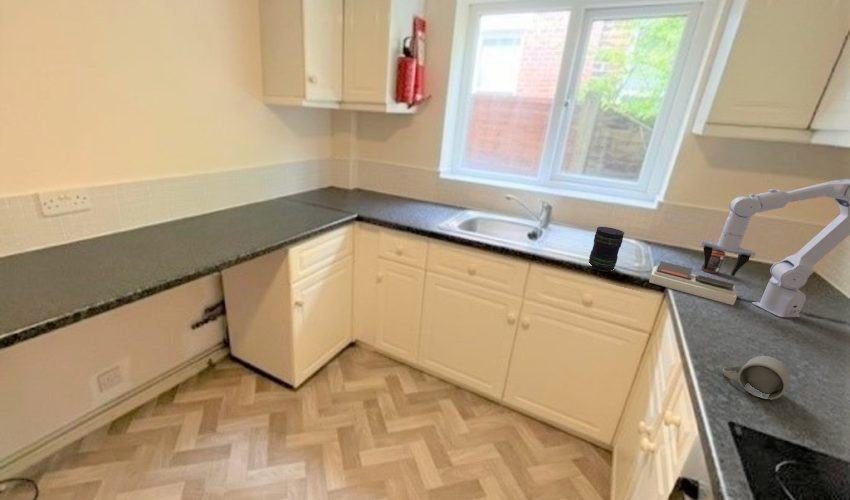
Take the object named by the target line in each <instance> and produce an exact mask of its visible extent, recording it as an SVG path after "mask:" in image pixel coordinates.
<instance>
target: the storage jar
mask: <svg viewBox="0 0 850 500" xmlns="http://www.w3.org/2000/svg"><path fill="white" fill-rule="evenodd" d="M624 236H625V232H624V231H622V230H620V229H617V228H614V227H608V226H597V227H596V231H595V234H594V238H593V245H592V250H591V251H590V255H589V259H588V262H589V263H590V264H591V265H592V267H594V268H593V269H595V270H597V269H598V270H597V271H601V272H608V271H610V272H612V271H611V270H613V269H614V268H615V267H616V265H617V263H618V262H617V261H618V260H619V259H618V258H619V256H618V255H619V251H620V248H621V247H622V244H623V240H624ZM592 267H591V268H592ZM614 270H615V269H614Z"/></svg>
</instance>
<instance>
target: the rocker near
mask: <svg viewBox="0 0 850 500" xmlns="http://www.w3.org/2000/svg"><path fill="white" fill-rule="evenodd" d="M696 275H697V276H696V278H697V279H701V280H705V281H709V282H713V283H717V284H721V285H725V286H729V287H733V286H734V287H735V284H734V283H732V282H728V281H724V280H721V279H720V280H719V279H716V278H712V277H708V276H703V275H699V274H696Z"/></svg>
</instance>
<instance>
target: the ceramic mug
mask: <svg viewBox="0 0 850 500" xmlns="http://www.w3.org/2000/svg"><path fill="white" fill-rule="evenodd" d="M731 370H732V371H736V372H728V371H731ZM721 371H722V374H723V373H724V374H725V375H726V376H727V377H728V378H730V379H729V380H731V381H732V380H733V381H738V383H739V385H740V387H741V386H742V387H745V385H746V384H747V383H749V384H750V385H751V386H752V387H754V388H755V389H757V390H759V391H760V392H762V393H765V394H770V395H769V397H768V399H770V400H769V401H771V400H776V399H779V398H780V397H782V396H783V394H784V393H785V392H786V389H787V386H788V384H789V381H790V373H789V371H788V369H787V367H786V365H785V364H784V363H783V362H781V361H780V360H779V359H778V358H777V359H776V358H774V357H772V356H768V355H758V356H754V357H753V358H750V359H749V360H747V362H746V363H745V364H744V365H743V366H742V365H728V366H724V367H723V368H722V370H721ZM728 378H727V379H728ZM742 387H741V388H742Z"/></svg>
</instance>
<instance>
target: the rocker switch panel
mask: <svg viewBox="0 0 850 500" xmlns="http://www.w3.org/2000/svg"><path fill="white" fill-rule="evenodd" d="M658 268H659V265H658V264H657V265H655V266H654V267H653V269H652V272H651V275H650V278H649V281H648V283H650V284H654V285H658V286H661V287H664V288H669V289H672V290H676V291H679V292H683V293H687V294H692V295H694V296H697V297H702V298H705V299H709V300H712V301H716V302H720V303H723V304H728V305H731V306H734V304H735V302H736V300H737V292H736V288H735V285H734V286H733V287H729V286H725V285H721V284H717V283H713V282H709V281H705V280H701V279H697V278H696V276H697V275H698V274H694V273H691V276H690V280H688V279H684V278H680V277H676V276H672V275H668V274H664V273H660V272H657V271H658Z"/></svg>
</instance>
